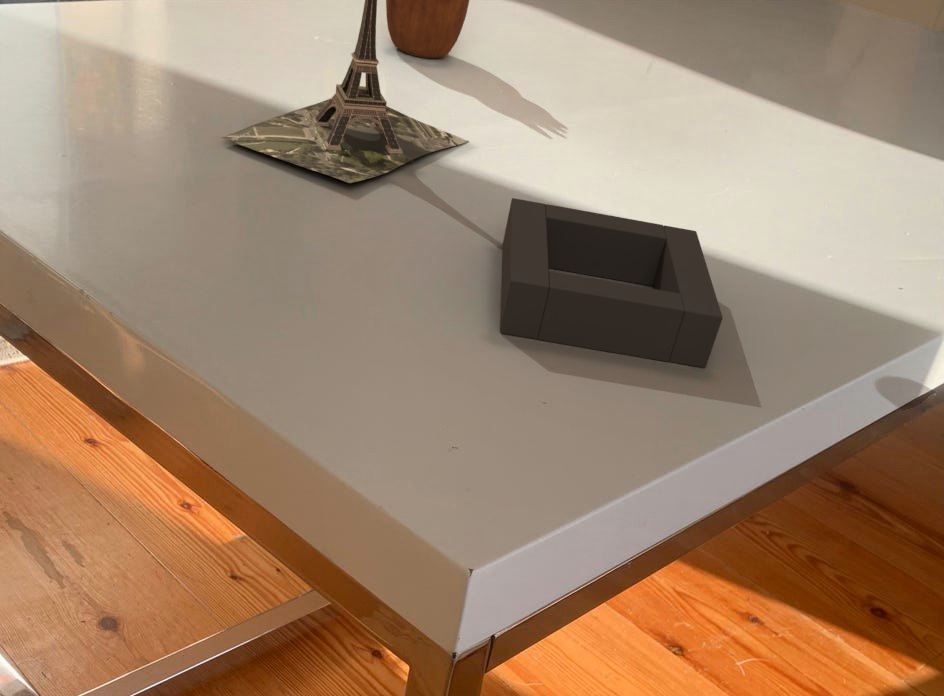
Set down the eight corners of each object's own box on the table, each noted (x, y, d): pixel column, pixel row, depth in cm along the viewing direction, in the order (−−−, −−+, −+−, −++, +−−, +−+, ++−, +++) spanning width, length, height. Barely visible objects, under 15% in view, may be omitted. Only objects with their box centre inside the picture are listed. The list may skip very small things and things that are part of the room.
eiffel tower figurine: (350, 98, 83) (370, -107, 74) (469, 141, 80) (504, -67, 71) (220, 143, 72) (227, -91, 63) (353, 195, 69) (378, -44, 60)
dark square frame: (681, 277, 68) (696, 230, 66) (705, 368, 59) (723, 317, 57) (502, 245, 67) (511, 197, 65) (499, 333, 58) (510, 280, 56)
